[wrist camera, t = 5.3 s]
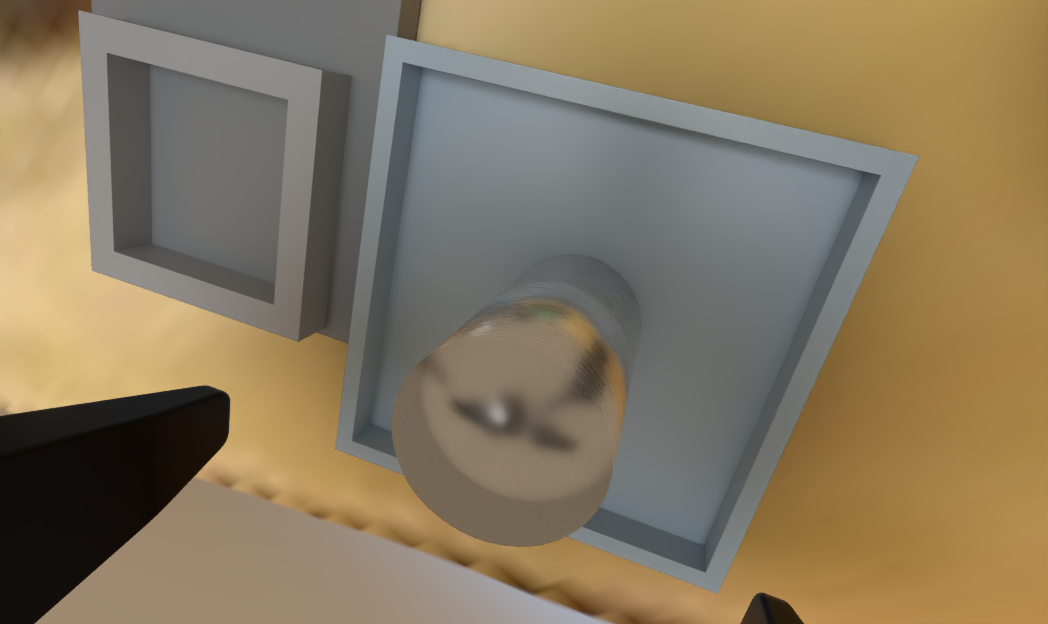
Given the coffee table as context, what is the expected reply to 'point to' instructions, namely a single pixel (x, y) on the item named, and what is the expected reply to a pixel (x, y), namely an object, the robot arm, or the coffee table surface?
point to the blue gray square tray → (619, 271)
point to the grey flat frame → (236, 150)
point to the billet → (524, 405)
